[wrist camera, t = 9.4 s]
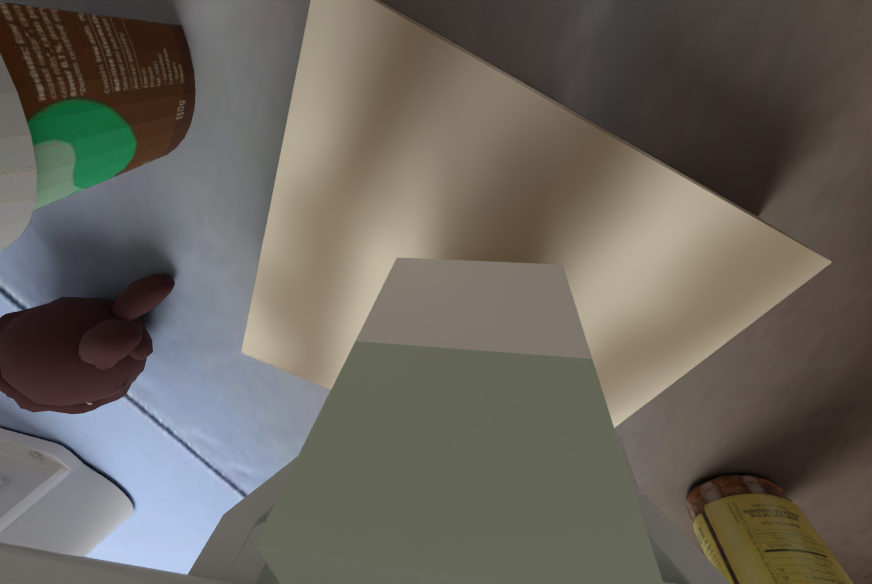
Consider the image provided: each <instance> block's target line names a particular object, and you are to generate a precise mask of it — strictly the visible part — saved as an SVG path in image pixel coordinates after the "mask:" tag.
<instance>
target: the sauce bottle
mask: <svg viewBox="0 0 872 584" xmlns="http://www.w3.org/2000/svg"><path fill="white" fill-rule="evenodd" d="M686 501H687V509H688V513H689V515H690V517H691V519H692V521H693V522H694V525H693V527H694V531H695V533H696V536H697V538H698V540H699V542H700V544H701V546H702V548H703V551H704V553H705V555H706V557H707V559H708V560H709V561H710V562H711V563H712V564H713V565H714V566H715V567H716V569H717V570H718V571H719V572H720V573H721V574H722V575H723V576H724V577H725V578H726V579H727V580H728V581H729V582H730V583H731V584H853V582H852V581H851V580H850V578H849V577H848V575H847V574H846V572H845V571H844V570H843V568H842V567H841V565H840V564H839V563H838V561H837V560H836V558H835V557H834V555H833V554H832V553H831V551H830V550H829V548H828V547H827V545H826V544H825V543H824V541H823V540H822V538H821V537H820V535H819V534H818V533H817V531H816V530H815V529H814V527H813V526H812V524H811V523H810V522H809V520H808V519H807V517H806V516H805V515H804V513H803V512H802V510H801V509H800V508H799V507H798V506H797V505H796V504H794V503H793V502H792V501H791V500H790V499H789V498H788V496H787V495H786V494H785V493H784V491H783V490H782V489H781V488H780V487H778V486H777V485H775V484H774V483H773V482H771V481H769V480H767V479H763V478H760V477H756V476H750V475H724V476H719V477H717V478H714V479H712V480H710V481H707V482H705V483H703V484H700V485H698V486H696V487H695V488H693V489H692V490H691V492H690V493H689V494H688V496H687V500H686Z"/></svg>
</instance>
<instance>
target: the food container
mask: <svg viewBox="0 0 872 584" xmlns="http://www.w3.org/2000/svg"><path fill="white" fill-rule="evenodd" d="M194 105H195V80H194V70H193V65H192V60H191V55H190V50H189V47H188V44H187V41H186V38H185V35H184V31H183V28H182V26H181V25H173V24H166V23H158V22H150V21H142V20H135V19H127V18H119V17H111V16H104V15H96V14H88V13H81V12H73V11H65V10H57V9H50V8H42V7H34V6H26V5H19V4H11V3H3V2H0V250H3V249H5V248H7V247H8V246H9V245H10V244H12V243H13V242H14V241H16V240H17V239H18V238H19V237H20V236H21V235H22V233H23V231H24V230H25V228H26V227H27V225H28V224H29V222H30V220H31V217H32V213H33V211H34V210H36V209H38V208H41V207H43V206H46V205H48V204H50V203H53V202H55V201H57V200H60V199H62V198H65V197H67V196H69V195H72V194H74V193H76V192H79V191H81V190H84V189H86V188H88V187H91V186H93V185H95V184H98V183H100V182H103V181H105V180H107V179H110V178H112V177H115V176H117V175H119V174H122V173H124V172H126V171H129V170H131V169H134V168H136V167H138V166H141V165H143V164H145V163H148V162H150V161H153V160H155V159H157V158H160V157H162V156H164V155H167V154H168V153H170V152H171V151H172V150H174V149H175V148H176V147H177V146H178V145H179V144H180V142H181V141H182V140H183V139H184V137H185V135H186V133H187V131H188V129H189V127H190V125H191V121H192V117H193V112H194Z"/></svg>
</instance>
